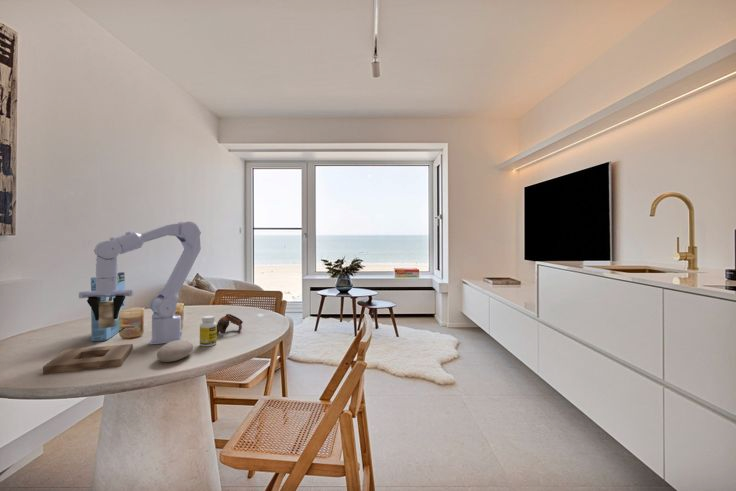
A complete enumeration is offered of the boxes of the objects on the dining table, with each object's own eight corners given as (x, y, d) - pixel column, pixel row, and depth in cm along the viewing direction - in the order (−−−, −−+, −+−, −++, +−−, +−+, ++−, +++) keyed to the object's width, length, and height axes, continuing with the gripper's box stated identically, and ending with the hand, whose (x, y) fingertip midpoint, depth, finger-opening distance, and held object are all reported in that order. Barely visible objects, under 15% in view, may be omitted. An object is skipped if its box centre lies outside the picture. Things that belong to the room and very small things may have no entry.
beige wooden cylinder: (116, 324, 123) (116, 300, 123) (113, 327, 119) (113, 302, 119) (101, 325, 121) (100, 301, 121) (96, 328, 117) (96, 303, 117)
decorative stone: (179, 366, 107) (179, 349, 107) (148, 365, 108) (148, 348, 107) (199, 352, 120) (199, 337, 120) (172, 352, 120) (172, 336, 120)
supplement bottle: (210, 347, 125) (210, 318, 125) (196, 346, 126) (196, 318, 126) (219, 342, 130) (219, 315, 130) (206, 341, 132) (206, 314, 131)
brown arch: (217, 330, 149) (228, 312, 151) (237, 341, 148) (248, 323, 150) (205, 330, 138) (217, 310, 139) (227, 342, 137) (239, 322, 139)
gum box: (106, 341, 131) (106, 277, 131) (89, 342, 130) (89, 277, 129) (126, 327, 150) (125, 271, 149) (111, 328, 149) (111, 272, 148)
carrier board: (132, 349, 122) (132, 343, 121) (120, 365, 107) (120, 359, 107) (65, 355, 115) (65, 349, 115) (42, 373, 100) (42, 366, 100)
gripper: (135, 275, 126) (135, 315, 127) (84, 276, 121) (84, 317, 121) (130, 278, 120) (130, 319, 120) (76, 279, 114) (76, 322, 115)
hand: (106, 319), depth 120 cm, fingers closed on beige wooden cylinder, 4 cm apart
